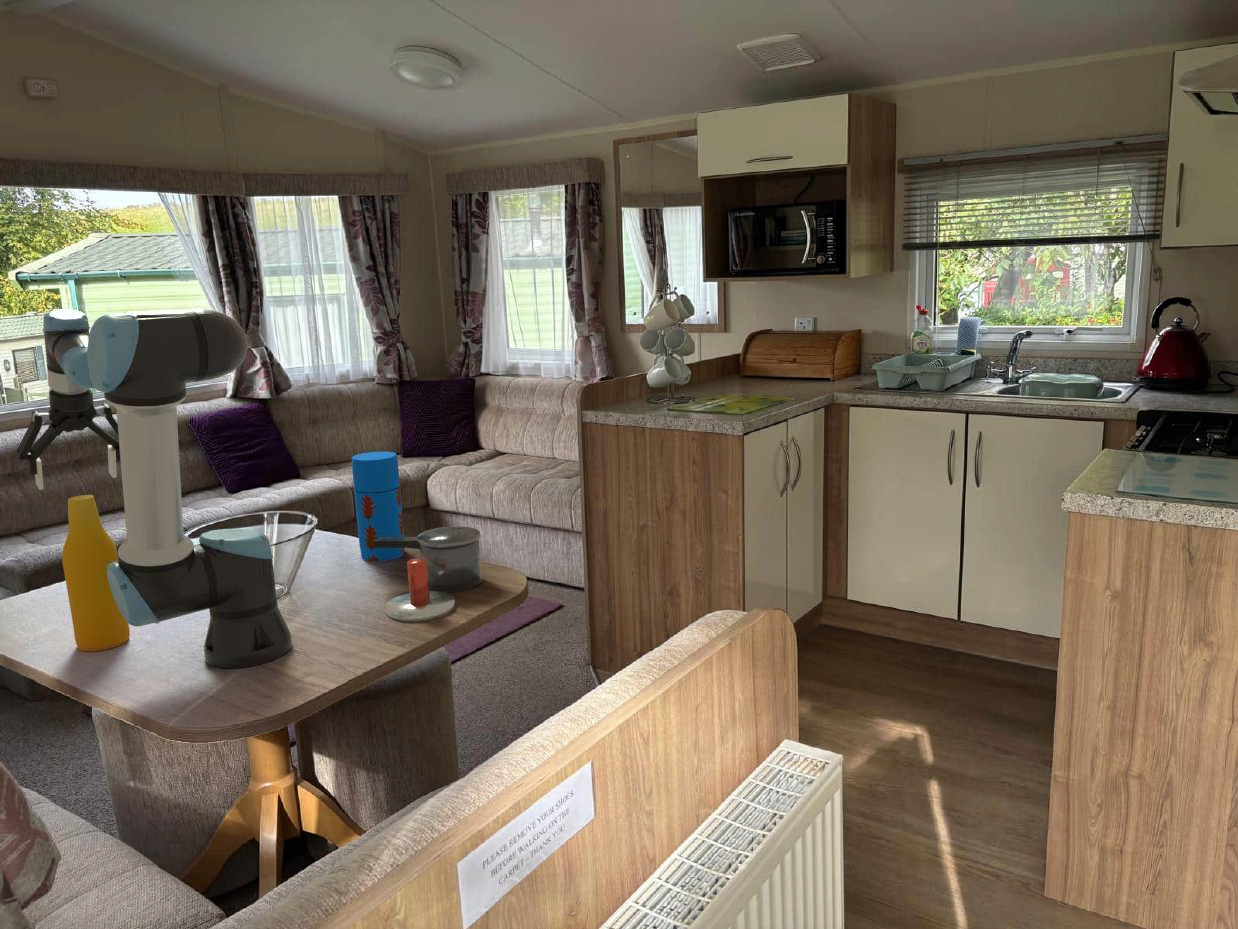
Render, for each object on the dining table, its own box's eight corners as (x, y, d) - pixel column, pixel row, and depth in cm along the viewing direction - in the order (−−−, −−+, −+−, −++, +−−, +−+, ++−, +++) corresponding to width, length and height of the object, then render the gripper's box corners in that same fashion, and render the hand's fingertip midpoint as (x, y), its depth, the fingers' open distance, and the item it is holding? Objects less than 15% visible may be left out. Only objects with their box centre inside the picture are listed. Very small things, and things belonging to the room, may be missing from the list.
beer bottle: (65, 648, 177) (40, 501, 170) (109, 630, 185) (86, 490, 179) (98, 655, 173) (74, 505, 167) (141, 637, 181) (119, 493, 175)
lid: (446, 622, 184) (442, 572, 182) (377, 622, 185) (372, 573, 183) (461, 597, 198) (458, 550, 196) (397, 598, 199) (393, 551, 197)
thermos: (352, 561, 224) (343, 460, 219) (371, 547, 235) (363, 451, 229) (394, 562, 223) (386, 460, 217) (412, 548, 233) (404, 451, 227)
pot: (476, 592, 200) (473, 543, 198) (370, 594, 201) (365, 545, 199) (488, 571, 213) (485, 525, 211) (388, 573, 215) (384, 527, 212)
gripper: (131, 373, 194) (135, 462, 203) (-9, 386, 177) (2, 483, 187) (144, 387, 189) (147, 478, 199) (1, 402, 173) (12, 500, 182)
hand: (77, 480), depth 193 cm, fingers open, 13 cm apart
